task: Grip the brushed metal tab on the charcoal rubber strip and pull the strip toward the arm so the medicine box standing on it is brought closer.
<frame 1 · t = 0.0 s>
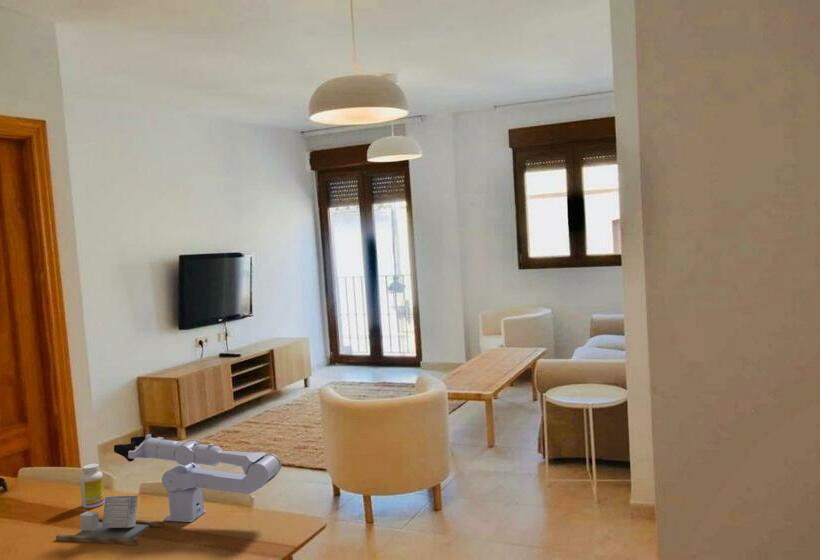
hand: (123, 444, 198), 22 cm above the table, tool horizontal, fingers open, 7 cm apart
medicine box: (118, 528, 184), point 1 cm above the table, touching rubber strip
supplement bottle: (93, 505, 207), on the table
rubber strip: (110, 523, 185), point 3 cm above the table, slide at 0.5 cm, touching medicine box
walnut guide rails: (110, 532, 185), on the table
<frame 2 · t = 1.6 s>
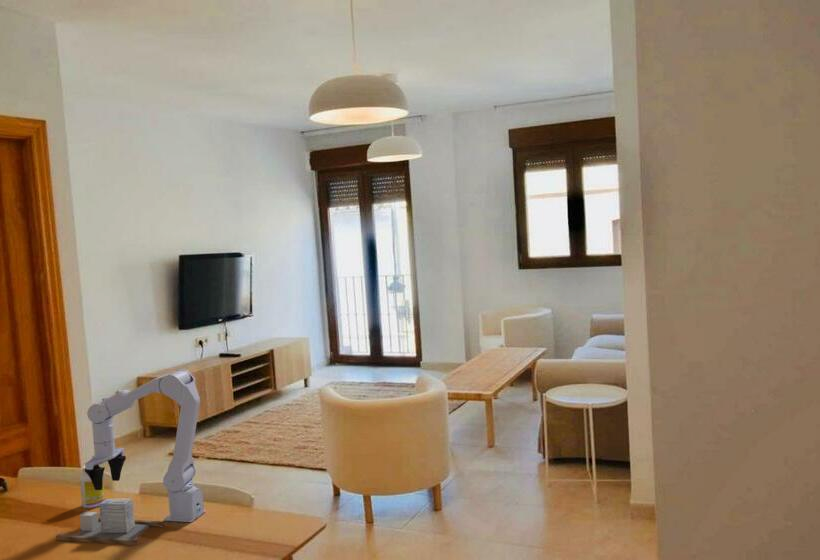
hand: (107, 484, 195), 10 cm above the table, tool pointing down, fingers open, 7 cm apart
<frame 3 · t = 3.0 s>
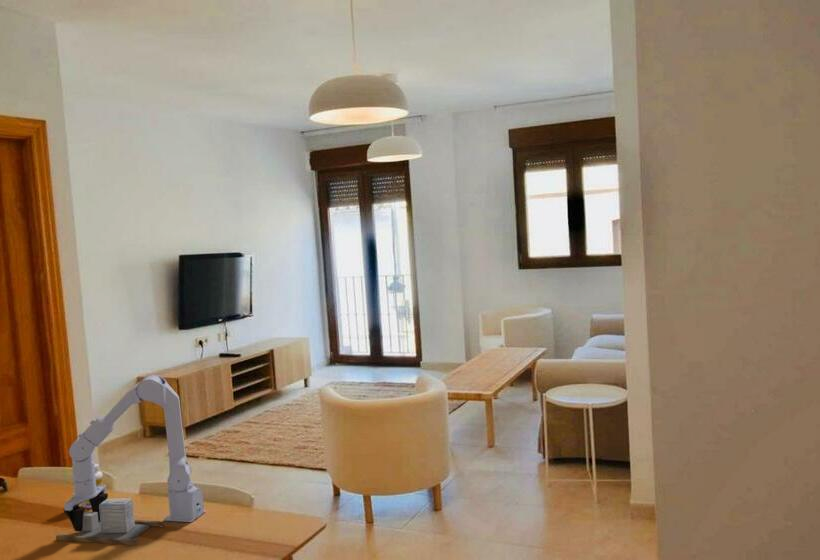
hand: (88, 524, 187), 2 cm above the table, tool pointing down, fingers open, 7 cm apart
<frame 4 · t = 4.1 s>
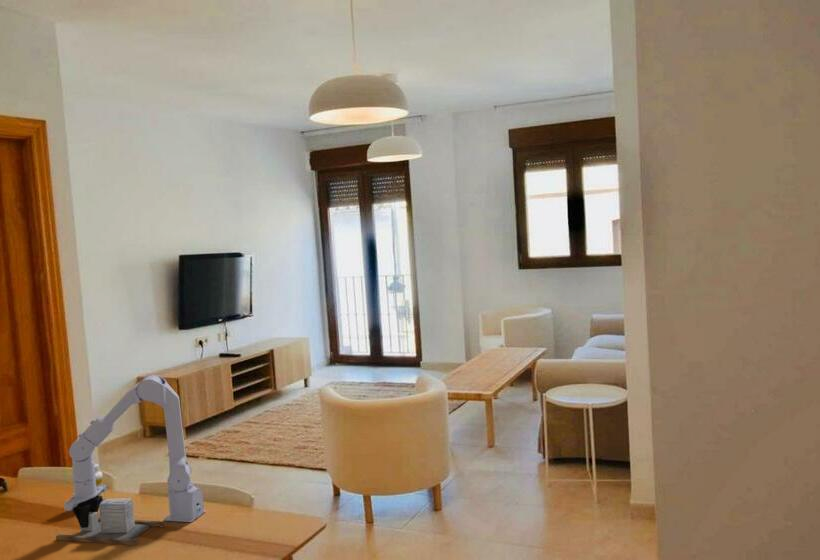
hand: (88, 524, 187), 2 cm above the table, tool pointing down, fingers closed on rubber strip, 2 cm apart
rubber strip: (110, 523, 185), point 3 cm above the table, slide at 0.5 cm, touching gripper, medicine box
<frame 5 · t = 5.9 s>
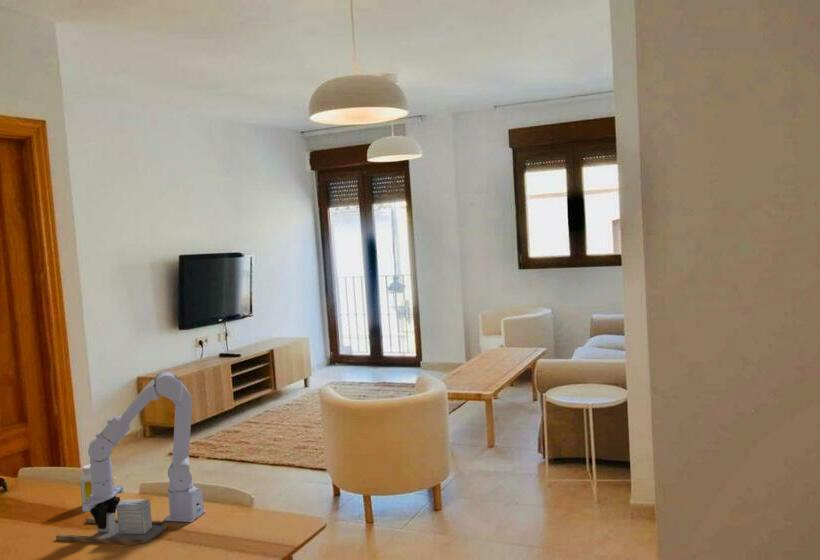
hand: (105, 526, 185), 2 cm above the table, tool pointing down, fingers closed on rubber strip, 2 cm apart
medicine box: (135, 532, 183), point 1 cm above the table, touching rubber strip
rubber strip: (127, 524, 183), point 3 cm above the table, slide at 6.3 cm, touching gripper, medicine box
everything else where it was.
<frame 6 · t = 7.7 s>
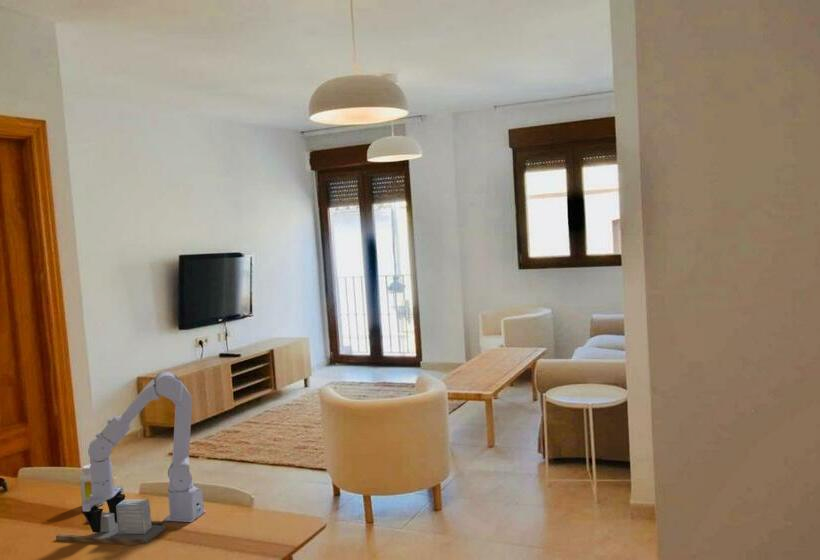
hand: (105, 526, 185), 2 cm above the table, tool pointing down, fingers open, 7 cm apart
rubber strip: (127, 524, 183), point 3 cm above the table, slide at 6.1 cm, touching medicine box
everything else where it was.
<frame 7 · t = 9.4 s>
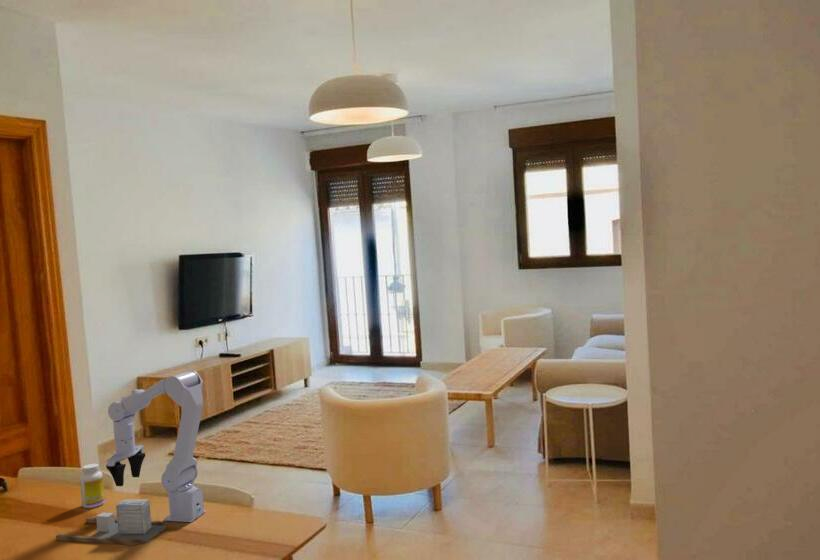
hand: (127, 481, 200), 9 cm above the table, tool pointing down, fingers open, 7 cm apart
nothing on the table moved.
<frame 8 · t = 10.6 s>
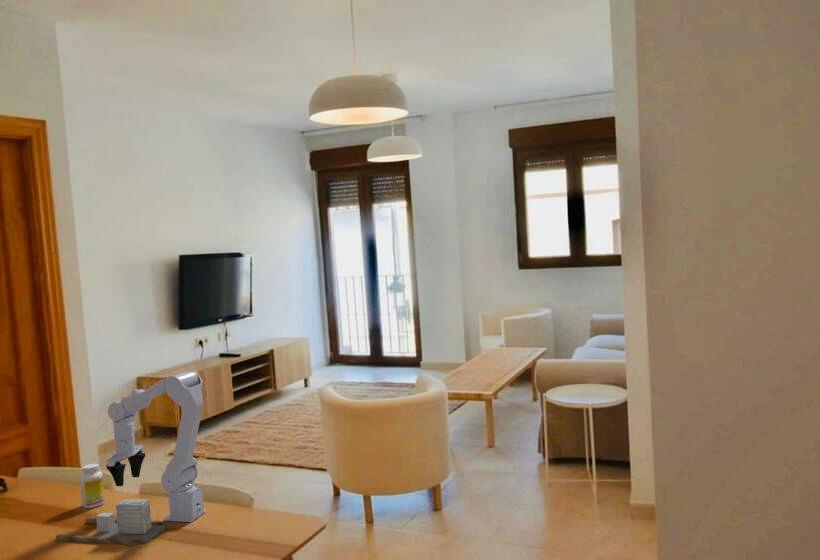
hand: (127, 481, 200), 9 cm above the table, tool pointing down, fingers open, 7 cm apart
nothing on the table moved.
at the end: medicine box inside the target area (0.0 cm from its centre), point 0.6 cm above the table; medicine box tilted 0°; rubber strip slide at 6.1 cm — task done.
